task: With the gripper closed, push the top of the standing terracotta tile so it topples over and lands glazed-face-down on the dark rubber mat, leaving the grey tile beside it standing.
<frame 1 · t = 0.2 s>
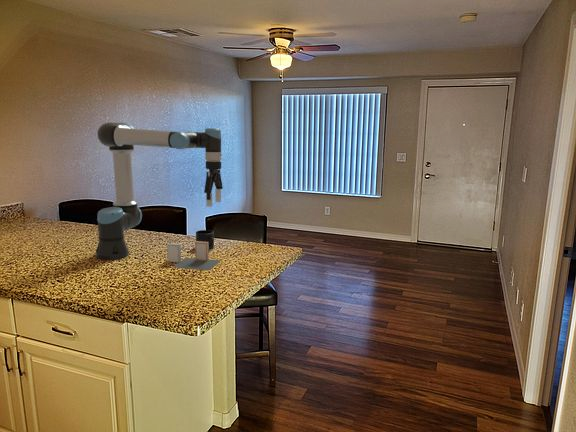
hand: (213, 204, 221), 26 cm above the kitchen counter, tool pointing down, fingers open, 13 cm apart
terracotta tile: (202, 260, 216), point 1 cm above the kitchen counter, touching mat
mat: (197, 264, 211), on the kitchen counter
grey tile: (174, 262, 214), on the kitchen counter
mug: (206, 249, 239), on the kitchen counter
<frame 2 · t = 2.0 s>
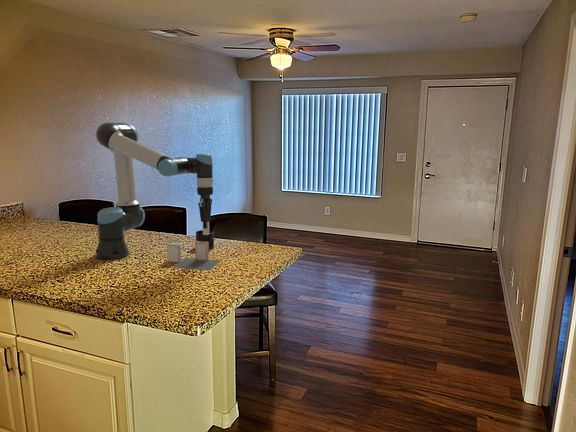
hand: (206, 234, 219), 12 cm above the kitchen counter, tool pointing down, fingers closed
nothing on the kitchen counter moved.
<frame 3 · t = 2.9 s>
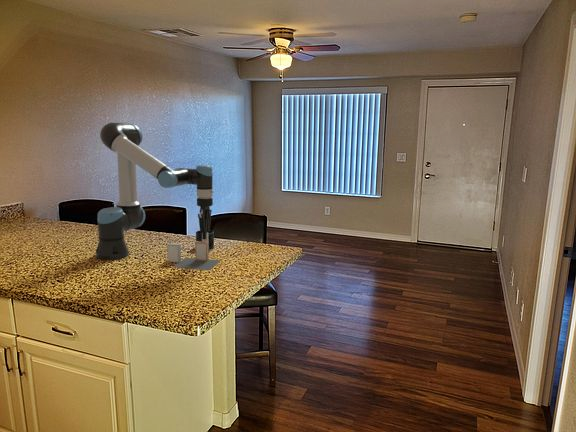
hand: (205, 245, 220), 7 cm above the kitchen counter, tool pointing down, fingers closed
nothing on the kitchen counter moved.
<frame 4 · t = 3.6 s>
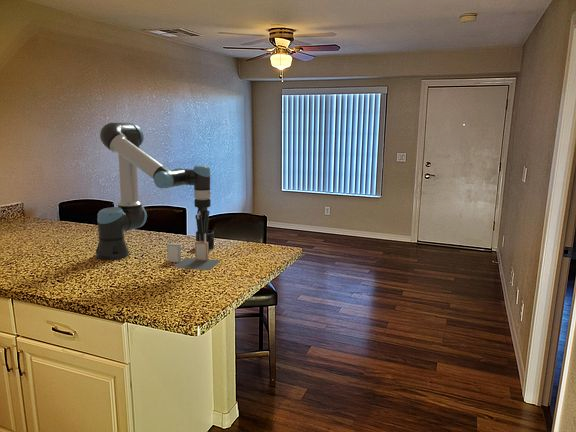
hand: (203, 246, 217), 7 cm above the kitchen counter, tool pointing down, fingers closed
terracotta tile: (202, 260, 216), point 1 cm above the kitchen counter, touching gripper, mat
everything else where it was.
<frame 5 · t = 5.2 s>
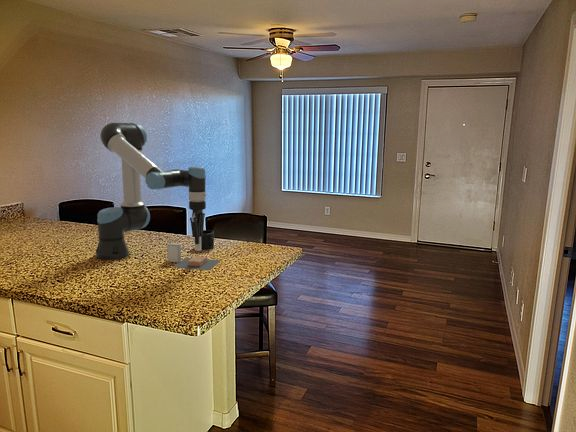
hand: (198, 250, 210), 7 cm above the kitchen counter, tool pointing down, fingers closed
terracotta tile: (201, 258, 215), point 2 cm above the kitchen counter, tilted 90°, touching mat
everything else where it was.
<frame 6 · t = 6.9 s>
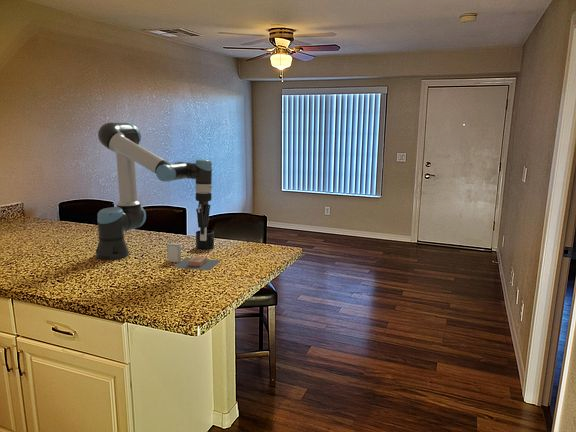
hand: (203, 240, 218), 10 cm above the kitchen counter, tool pointing down, fingers closed
nothing on the kitchen counter moved.
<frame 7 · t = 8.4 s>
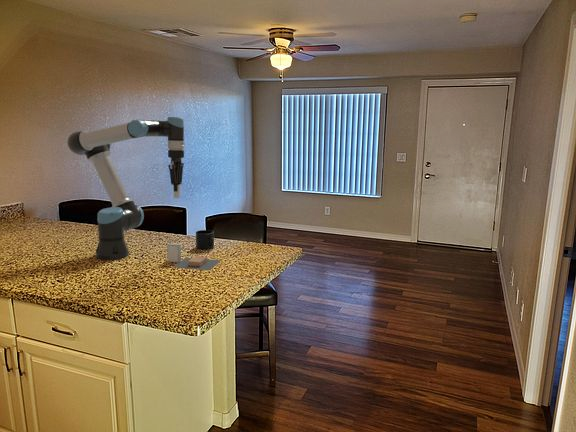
hand: (176, 197, 221), 29 cm above the kitchen counter, tool pointing down, fingers closed
nothing on the kitchen counter moved.
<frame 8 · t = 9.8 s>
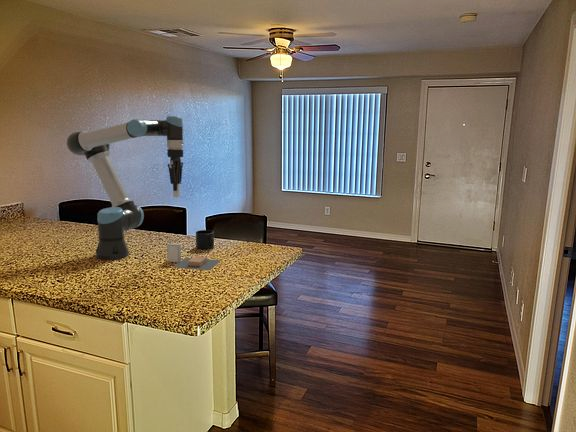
hand: (176, 197, 221), 29 cm above the kitchen counter, tool pointing down, fingers closed
nothing on the kitchen counter moved.
at the end: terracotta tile tilted 90°; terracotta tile inside the target area on the mat (4.9 cm from its centre), point 1.8 cm above the mat's base; grey tile tilted 0° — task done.
